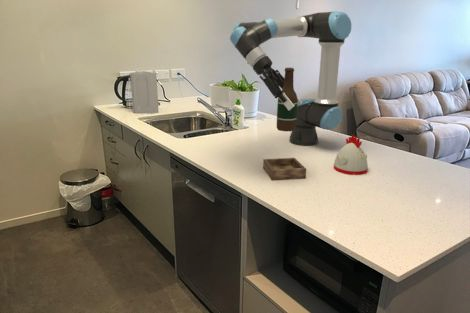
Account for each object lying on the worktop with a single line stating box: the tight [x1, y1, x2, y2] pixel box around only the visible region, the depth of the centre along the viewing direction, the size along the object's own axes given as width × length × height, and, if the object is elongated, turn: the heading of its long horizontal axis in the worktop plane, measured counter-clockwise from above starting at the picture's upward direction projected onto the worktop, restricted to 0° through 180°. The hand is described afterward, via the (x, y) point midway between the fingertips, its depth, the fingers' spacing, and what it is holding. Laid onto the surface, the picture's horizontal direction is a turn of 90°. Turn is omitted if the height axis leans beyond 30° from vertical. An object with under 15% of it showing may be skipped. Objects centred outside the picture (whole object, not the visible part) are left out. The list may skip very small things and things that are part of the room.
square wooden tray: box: [262, 157, 307, 181], centre depth 150 cm, size 14×14×4 cm
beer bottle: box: [276, 67, 298, 132], centre depth 141 cm, size 8×8×24 cm
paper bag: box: [129, 70, 160, 115], centre depth 260 cm, size 19×15×28 cm
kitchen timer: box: [333, 134, 369, 176], centre depth 154 cm, size 14×14×15 cm
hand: (295, 106), depth 140 cm, fingers closed on beer bottle, 8 cm apart
